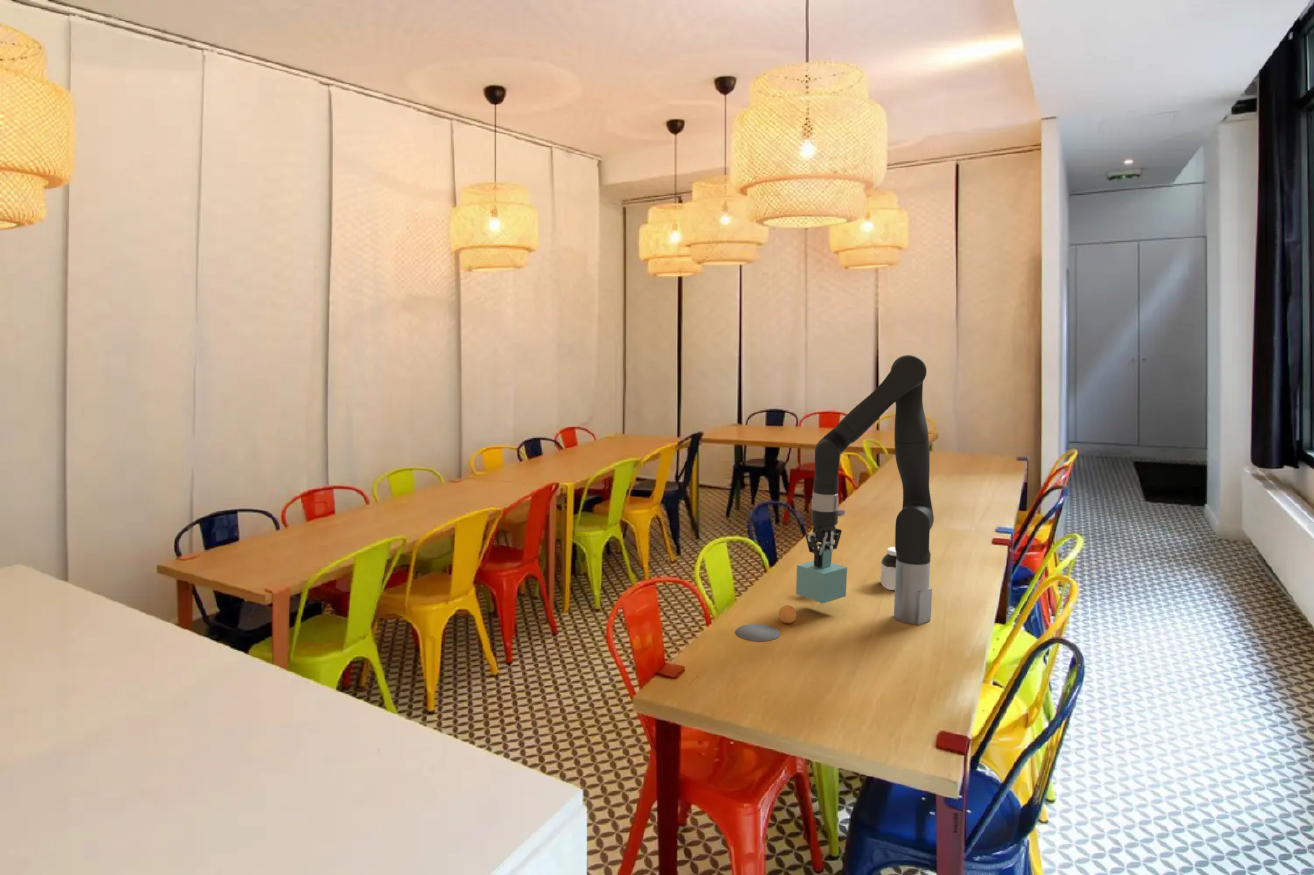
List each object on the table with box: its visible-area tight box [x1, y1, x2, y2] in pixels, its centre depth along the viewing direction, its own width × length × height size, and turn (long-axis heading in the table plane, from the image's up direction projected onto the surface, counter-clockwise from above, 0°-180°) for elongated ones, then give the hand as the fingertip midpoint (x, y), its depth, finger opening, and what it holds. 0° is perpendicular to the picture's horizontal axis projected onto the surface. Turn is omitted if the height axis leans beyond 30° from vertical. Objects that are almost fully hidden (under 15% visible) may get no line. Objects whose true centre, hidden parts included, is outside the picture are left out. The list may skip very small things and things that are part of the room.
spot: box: [735, 623, 781, 642], centre depth 214 cm, size 12×12×1 cm
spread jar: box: [879, 546, 896, 591], centre depth 253 cm, size 12×11×12 cm
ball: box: [778, 604, 797, 624], centre depth 221 cm, size 5×5×5 cm
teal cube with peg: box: [795, 547, 848, 604], centre depth 229 cm, size 10×10×14 cm
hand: (822, 565), depth 229 cm, fingers closed on teal cube with peg, 3 cm apart
